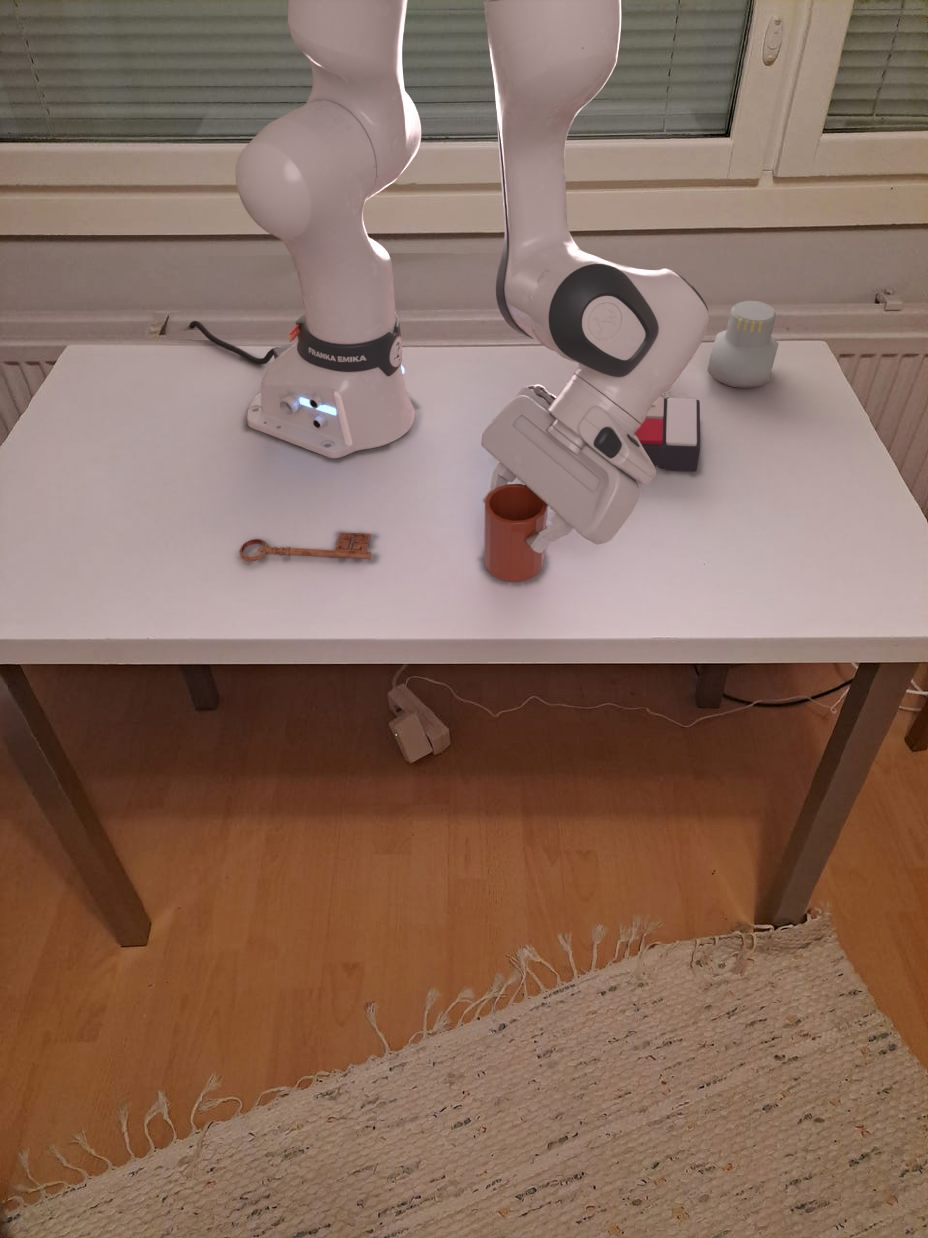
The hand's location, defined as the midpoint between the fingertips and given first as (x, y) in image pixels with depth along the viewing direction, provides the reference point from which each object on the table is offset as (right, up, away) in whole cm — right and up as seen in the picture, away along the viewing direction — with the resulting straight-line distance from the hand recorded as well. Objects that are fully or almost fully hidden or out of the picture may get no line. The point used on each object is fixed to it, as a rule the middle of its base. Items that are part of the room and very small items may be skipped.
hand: (510, 527), depth 99 cm
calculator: (+17, +13, +20) cm, 29 cm away
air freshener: (+34, +24, +30) cm, 51 cm away
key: (-23, -2, +6) cm, 24 cm away
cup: (+1, -3, +4) cm, 5 cm away
